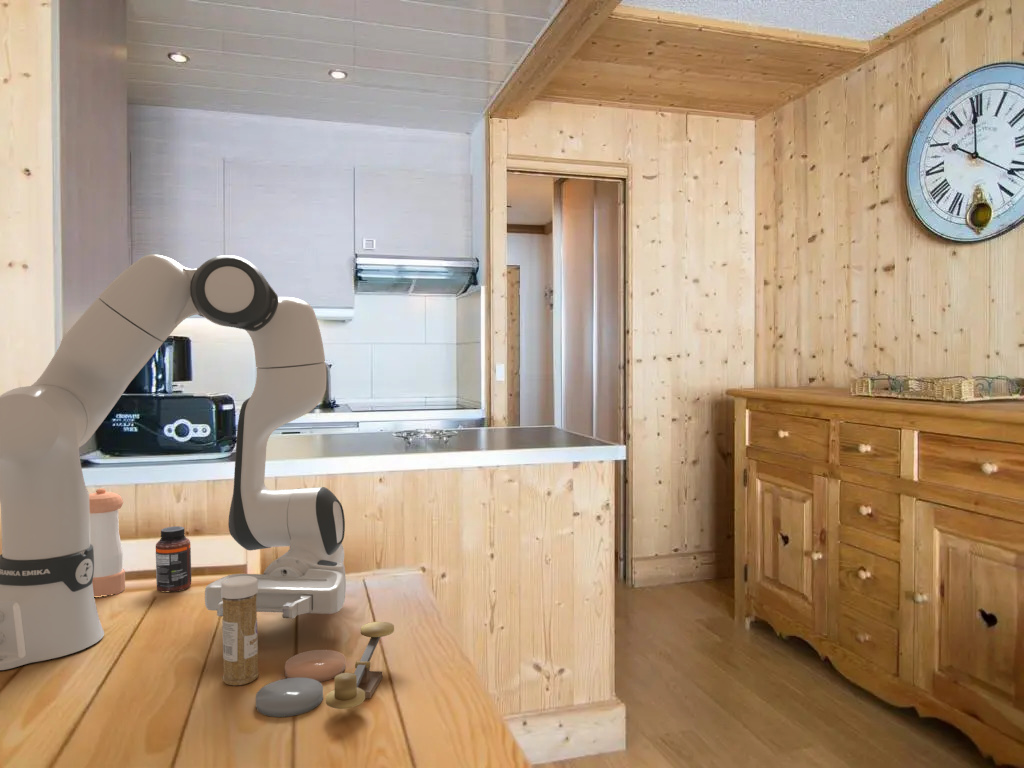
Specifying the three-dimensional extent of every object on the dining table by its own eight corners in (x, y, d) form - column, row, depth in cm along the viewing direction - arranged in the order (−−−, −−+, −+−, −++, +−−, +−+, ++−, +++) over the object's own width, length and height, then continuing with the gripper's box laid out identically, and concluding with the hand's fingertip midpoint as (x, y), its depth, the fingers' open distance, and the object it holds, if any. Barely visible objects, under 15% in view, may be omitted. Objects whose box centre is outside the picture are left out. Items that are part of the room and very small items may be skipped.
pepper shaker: (88, 586, 134) (87, 485, 134) (130, 584, 136) (129, 484, 135) (72, 599, 127) (71, 492, 126) (117, 596, 128) (115, 491, 128)
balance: (320, 723, 83) (320, 679, 83) (366, 656, 102) (366, 621, 102) (358, 724, 83) (358, 681, 83) (397, 657, 102) (397, 622, 102)
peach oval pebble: (275, 682, 94) (275, 673, 94) (298, 657, 102) (298, 648, 102) (334, 684, 94) (334, 675, 94) (352, 658, 102) (352, 650, 101)
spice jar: (262, 681, 94) (261, 581, 94) (226, 690, 92) (225, 587, 92) (253, 668, 98) (252, 572, 98) (218, 677, 96) (217, 578, 95)
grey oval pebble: (244, 715, 85) (244, 705, 85) (272, 685, 93) (272, 676, 93) (309, 718, 85) (309, 708, 85) (331, 687, 93) (331, 678, 93)
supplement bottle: (178, 581, 137) (178, 523, 137) (198, 586, 134) (197, 527, 134) (149, 590, 132) (148, 529, 132) (169, 595, 129) (168, 533, 129)
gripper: (229, 560, 114) (182, 587, 100) (354, 563, 112) (324, 591, 99) (229, 599, 114) (183, 632, 100) (354, 603, 112) (324, 636, 99)
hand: (254, 612), depth 99 cm, fingers open, 8 cm apart
